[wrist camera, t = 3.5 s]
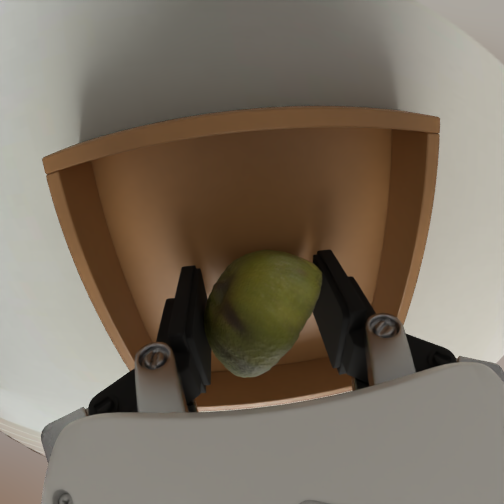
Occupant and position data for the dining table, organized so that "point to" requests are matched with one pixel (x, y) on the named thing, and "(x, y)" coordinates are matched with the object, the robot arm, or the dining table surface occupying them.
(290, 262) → the lime
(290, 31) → the dining table surface
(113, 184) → the box
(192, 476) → the robot arm
